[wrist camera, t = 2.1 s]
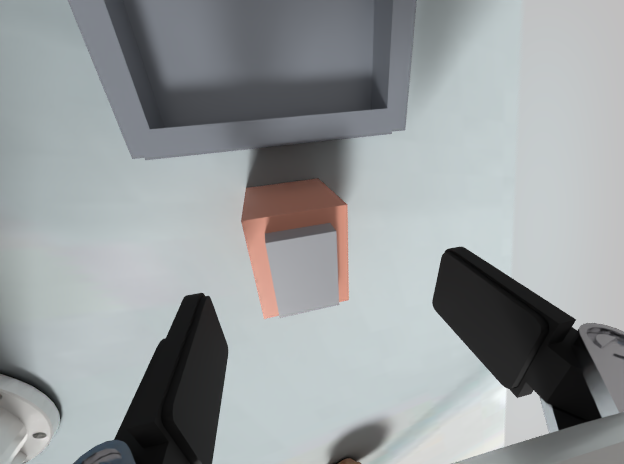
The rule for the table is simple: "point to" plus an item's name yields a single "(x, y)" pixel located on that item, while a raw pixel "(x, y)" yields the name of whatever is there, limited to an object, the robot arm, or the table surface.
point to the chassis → (249, 70)
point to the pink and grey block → (297, 246)
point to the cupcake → (348, 461)
